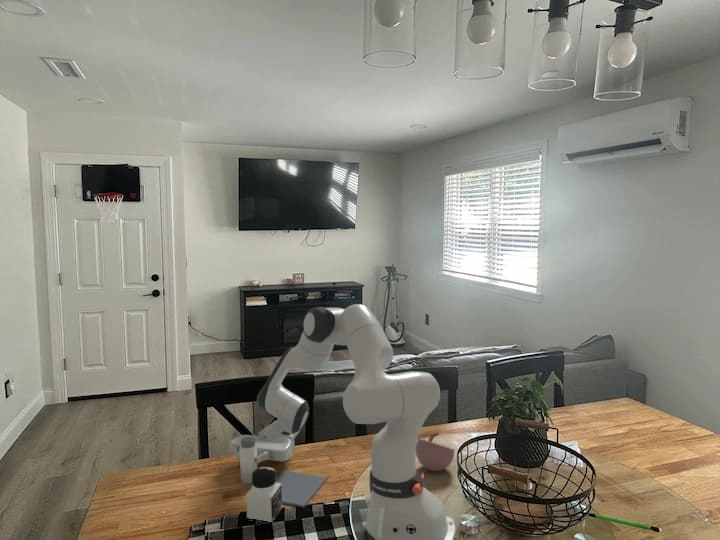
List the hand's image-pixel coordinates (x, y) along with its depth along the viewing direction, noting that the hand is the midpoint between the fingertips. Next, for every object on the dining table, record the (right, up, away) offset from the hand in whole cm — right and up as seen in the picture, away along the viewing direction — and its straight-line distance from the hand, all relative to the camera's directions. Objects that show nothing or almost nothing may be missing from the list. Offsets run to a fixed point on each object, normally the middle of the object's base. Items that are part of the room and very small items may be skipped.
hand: (247, 458), depth 144 cm
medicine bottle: (+9, -8, -17) cm, 20 cm away
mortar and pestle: (+58, -6, +7) cm, 58 cm away
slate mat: (+14, -7, -4) cm, 17 cm away
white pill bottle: (0, -7, +1) cm, 7 cm away
